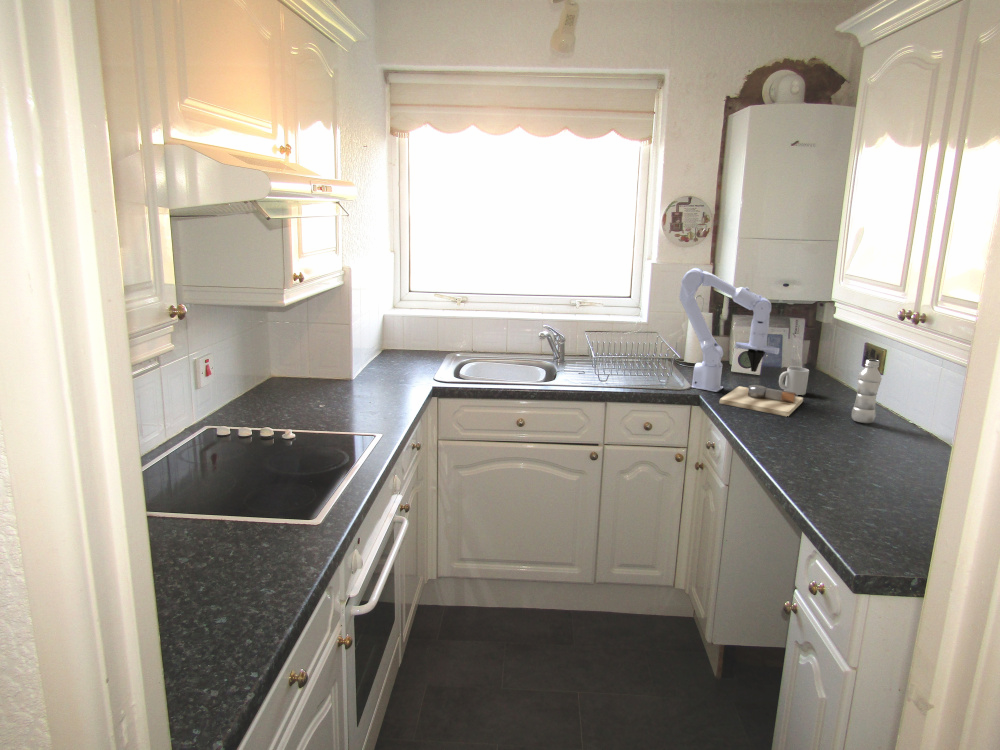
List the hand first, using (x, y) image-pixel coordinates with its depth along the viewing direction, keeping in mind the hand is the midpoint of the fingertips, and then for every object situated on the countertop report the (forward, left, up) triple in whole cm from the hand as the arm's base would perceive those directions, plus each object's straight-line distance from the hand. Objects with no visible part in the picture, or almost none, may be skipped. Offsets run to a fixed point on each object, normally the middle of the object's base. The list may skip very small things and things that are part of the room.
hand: (753, 371), depth 242 cm
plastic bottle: (+37, -10, -9) cm, 39 cm away
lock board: (+6, -9, -8) cm, 14 cm away
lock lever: (+8, -8, -7) cm, 13 cm away
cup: (+11, +12, -9) cm, 18 cm away
